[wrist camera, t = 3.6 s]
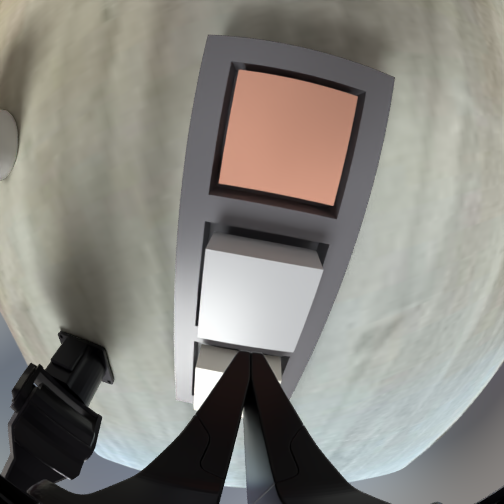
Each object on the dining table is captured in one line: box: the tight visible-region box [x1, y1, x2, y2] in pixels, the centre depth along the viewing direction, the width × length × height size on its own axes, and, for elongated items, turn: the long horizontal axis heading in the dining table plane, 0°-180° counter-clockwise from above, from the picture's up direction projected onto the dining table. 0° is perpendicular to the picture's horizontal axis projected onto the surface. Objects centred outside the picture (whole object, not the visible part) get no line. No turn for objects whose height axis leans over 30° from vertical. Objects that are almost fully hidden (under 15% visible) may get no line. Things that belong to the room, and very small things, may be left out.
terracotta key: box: [219, 70, 358, 206], centre depth 13 cm, size 6×6×2 cm
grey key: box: [198, 232, 323, 352], centre depth 16 cm, size 6×6×2 cm
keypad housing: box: [174, 35, 395, 404], centre depth 18 cm, size 28×10×3 cm, turn 170°
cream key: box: [194, 344, 282, 418], centre depth 20 cm, size 6×6×2 cm
